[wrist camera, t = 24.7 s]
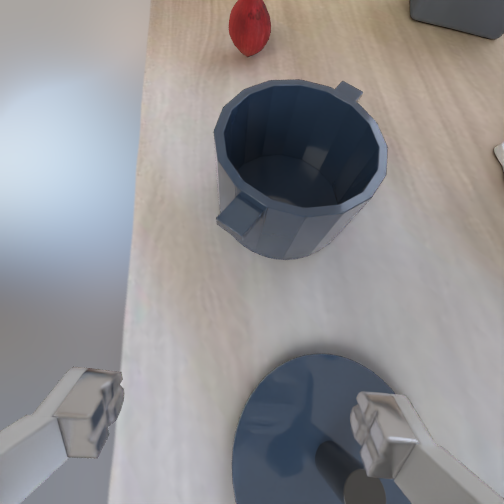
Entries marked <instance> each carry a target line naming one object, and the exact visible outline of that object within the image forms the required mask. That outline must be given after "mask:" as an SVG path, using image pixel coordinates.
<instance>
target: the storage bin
mask: <svg viewBox="0 0 504 504" xmlns="http://www.w3.org/2000/svg"><path fill="white" fill-rule="evenodd" d="M410 15H411V17H412V18H413V19H414V20H417V21H421V22H426V23H430V24H434V25H438V26H443V27H447V28H451V29H454V30H458V31H462V32H466V33H470V34H474V35H478V36H481V37H485V38H489V39H497V38H499V37H500V36H501V35H502V34H503V33H504V0H410Z"/></svg>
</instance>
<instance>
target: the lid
mask: <svg viewBox="0 0 504 504" xmlns="http://www.w3.org/2000/svg"><path fill="white" fill-rule="evenodd" d="M361 391H362V392H377V393H388V394H395V393H394V392H393V390H392V389H391V388H390V387H389V386H388V385H387V384H386V383H385V382H384V381H383V380H382V379H381V378H380V377H379V376H377V375H376V374H375V373H374V372H372V371H371V370H369V369H368V368H366V367H365V366H363V365H361V364H359V363H357V362H355V361H353V360H351V359H348V358H345V357H342V356H337V355H331V354H310V355H304V356H300V357H296V358H293V359H291V360H289V361H286V362H284V363H283V364H281V365H279V366H278V367H276V368H275V369H273V370H272V371H271V372H270V373H268V374H267V375H266V376H265V377H264V378H263V379H262V380H261V382H260V383H259V384H258V385H257V386H256V388H255V389H254V390H253V392H252V393H251V395H250V397H249V398H248V400H247V402H246V404H245V406H244V408H243V410H242V413H241V415H240V418H239V421H238V424H237V428H236V431H235V437H234V443H233V451H232V480H233V488H234V495H235V500H236V504H412V503H411V502H410V501H409V499H408V498H407V497H406V496H405V494H404V493H403V492H402V491H401V489H400V488H399V487H398V486H397V484H396V483H395V482H394V480H395V479H385V478H375V477H368V476H367V473H366V470H365V468H364V465H363V462H362V459H361V456H360V453H359V452H360V449H361V445H360V444H359V443H358V442H357V441H356V440H355V438H354V436H353V433H352V430H351V425H350V413H351V410H352V407H354V406H355V405H357V404H358V402H357V400H356V398H357V395H358V393H360V392H361Z"/></svg>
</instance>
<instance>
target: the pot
mask: <svg viewBox="0 0 504 504" xmlns="http://www.w3.org/2000/svg"><path fill="white" fill-rule="evenodd" d="M362 94H363V92H362V91H361V90H359V89H357V88H355V87H353V86H351V85H350V84H348V83H346V82H344V81H342V82H341V83H340V84H339V85H338V86H337V87H336V88H335V89H333V88H331V87H329V86H325V85H321V84H317V83H313V82H309V81H305V80H300V79H295V80H271V81H270V80H269V81H266V82H264V83H261V84H258V85H255V86H252V87H249V88H246V89H244V90H242V91H241V92H240V93H239V94H238V95H237V96H236V97H234V98H233V99H232V100H231V101H230V102H229V103H227V104H226V105H225V106H224V107H223V109H222V112H221V114H220V117H219V119H218V121H217V124H216V126H215V129H214V144H215V158H216V172H217V186H218V198H219V206H220V214H219V216H218V217H217V218H216V221H217V225H219V226H220V227H222V228H223V229H224V230H226V231H227V232H229V233H230V234H231V235H232V236H233V237H234V238H235V239H236V240H237V241H238V242H240V243H241V244H242V245H243V246H244V247H246V248H248V249H249V250H251V251H253V252H255V253H257V254H259V255H262V256H265V257H268V258H273V259H282V260H290V259H298V258H303V257H306V256H309V255H312V254H314V253H316V252H318V251H319V250H321V249H322V248H323V247H325V246H326V245H328V244H330V242H331V241H332V240H333V239H334V238H335V237H336V236H337V235H338V234H339V233H340V232H341V231H342V229H343V228H344V227H345V226H346V225H347V224H348V223H349V222H350V221H351V220H352V219H353V217H354V216H355V215H356V214H357V213H358V212H359V211H360V210H361V209H362V208H363V207H364V205H365V204H366V203H367V202H368V201H369V200H370V199H371V198H372V196H373V195H374V193H375V192H376V190H377V189H378V187H379V186H380V184H381V182H382V181H383V179H384V178H385V176H386V172H387V152H388V147H387V145H386V142H385V140H384V138H383V136H382V133H381V131H380V129H379V126H378V124H377V122H376V121H375V120H374V119H373V118H372V117H371V116H370V115H369V114H368V113H367V112H366V111H365V110H364V109H363V108H362V107H361V106H360V105H359V104H358V101H359V100H360V98H361V96H362Z"/></svg>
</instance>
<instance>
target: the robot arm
mask: <svg viewBox="0 0 504 504" xmlns="http://www.w3.org/2000/svg"><path fill="white" fill-rule="evenodd" d="M494 152H495V154H496V156H497V158H498V160H499V161H500V163H501V165H502V167H503V170H504V142H502V143H501V144H499V145H497V146H496V147H495V148H494ZM122 380H123V378H122V372H117V371H109V370H100V369H90V368H80V367H72V368H71V369H70V370H68V371H67V372H66V374H65V375H64V376H63V377H62V378H61V380H60V381H59V382H58V383H57V385H56V386H55V387H54V388H53V390H52V391H51V392H50V393H49V395H48V396H47V397H46V398H45V399H44V401H43V402H42V403H41V404H40V406H39V407H38V408H37V409H36V411H35V412H34V413H33V414H32V415H26V416H24V417H23V418H21V419H20V420H18V421H16V422H14V423H13V424H11V425H10V426H8V427H6V428H5V429H3V430H1V431H0V504H20V503H21V502H22V501H23V500H24V499H26V497H28V496H29V495H30V494H31V493H32V492H33V491H34V490H35V489H36V488H37V487H39V485H41V484H42V483H43V482H44V481H45V480H46V479H47V478H48V477H49V476H50V475H51V474H52V473H54V472H55V471H56V470H57V469H58V468H59V467H60V466H61V465H62V464H63V463H64V462H66V461H67V460H68V458H67V457H72V458H98V457H99V454H100V453H101V450H102V448H103V446H104V444H105V442H106V440H107V438H108V436H109V430H108V426H110V425H111V424H112V423H113V422H115V421H116V420H117V418H118V415H119V413H120V411H121V408H122V405H123V401H124V388H123V387H122V386H121V385H120V383H121V382H122ZM356 400H357V402H358V404H357V405H355V406H354V407H352V410H351V413H350V425H351V430H352V433H353V436H354V438H355V440H356V441H357V442H358V443H359V444H360V445H361V449H360V452H359V453H360V456H361V459H362V462H363V465H364V468H365V470H366V473H367V476H368V477H375V478H385V479H395V480H394V482H395V483H396V484H397V486H398V487H399V488H400V489H401V491H402V492H403V493H404V494H405V496H406V497H407V498H408V499H409V501H410V502H411V503H412V504H504V499H503V498H502V497H501V496H500V495H499V494H497V493H496V492H495V491H494V490H493V489H492V488H490V487H489V486H488V485H487V484H486V483H485V482H483V481H482V480H481V479H480V478H479V477H477V476H476V475H475V474H474V473H473V472H472V471H470V470H469V469H468V468H467V467H466V466H465V465H463V464H462V463H461V462H460V461H459V460H457V459H456V458H455V457H454V456H453V455H452V454H450V453H449V452H448V451H447V450H446V449H445V448H443V447H442V446H437V445H436V443H435V441H434V440H433V438H432V436H431V435H430V433H429V432H428V430H427V428H426V427H425V425H424V424H423V422H422V420H421V419H420V417H419V415H418V414H417V412H416V411H415V409H414V407H413V406H412V404H411V402H410V401H409V399H408V398H407V397H406V396H405V395H399V394H388V393H377V392H362V391H361V392H360V393H358V395H357V398H356Z"/></svg>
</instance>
